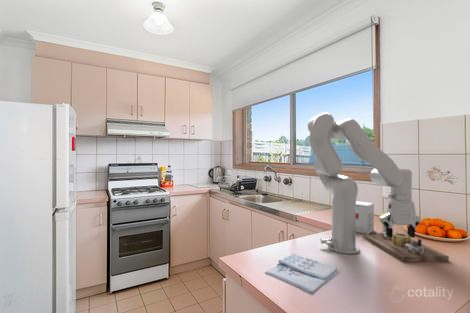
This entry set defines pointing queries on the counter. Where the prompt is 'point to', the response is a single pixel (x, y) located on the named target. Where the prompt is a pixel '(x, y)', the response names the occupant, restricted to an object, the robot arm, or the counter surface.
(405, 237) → the brass gear
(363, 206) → the supplement box
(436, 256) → the gear board
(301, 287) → the folded cloth napkin
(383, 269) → the counter surface
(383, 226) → the light bulb
